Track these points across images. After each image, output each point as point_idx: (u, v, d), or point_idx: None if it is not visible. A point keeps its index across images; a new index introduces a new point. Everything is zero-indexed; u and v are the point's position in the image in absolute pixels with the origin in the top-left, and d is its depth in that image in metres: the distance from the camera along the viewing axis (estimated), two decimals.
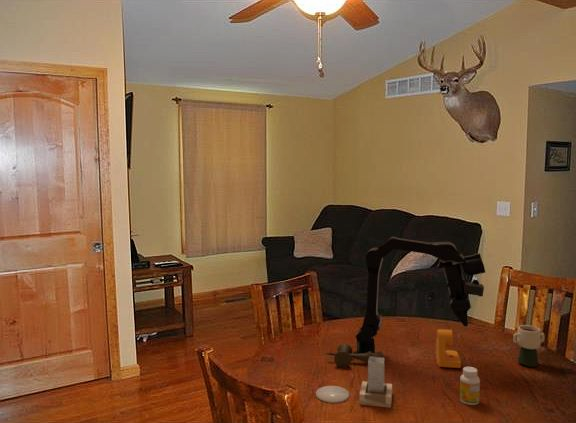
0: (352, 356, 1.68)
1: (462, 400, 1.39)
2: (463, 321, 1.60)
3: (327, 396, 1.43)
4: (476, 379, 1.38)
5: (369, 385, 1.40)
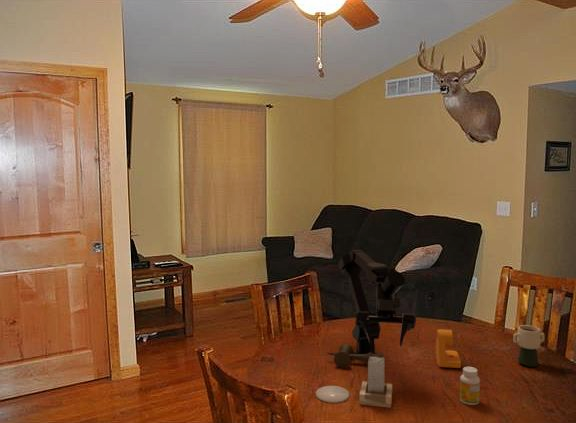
0: (352, 356, 1.68)
1: (462, 400, 1.39)
2: (368, 338, 1.51)
3: (327, 396, 1.43)
4: (476, 379, 1.38)
5: (369, 385, 1.40)
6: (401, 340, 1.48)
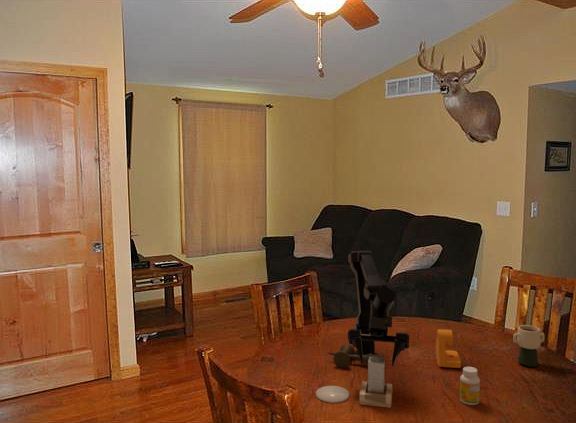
0: (352, 357, 1.68)
1: (462, 400, 1.39)
2: None
3: (327, 396, 1.43)
4: (476, 379, 1.38)
5: (369, 385, 1.40)
6: (393, 360, 1.43)
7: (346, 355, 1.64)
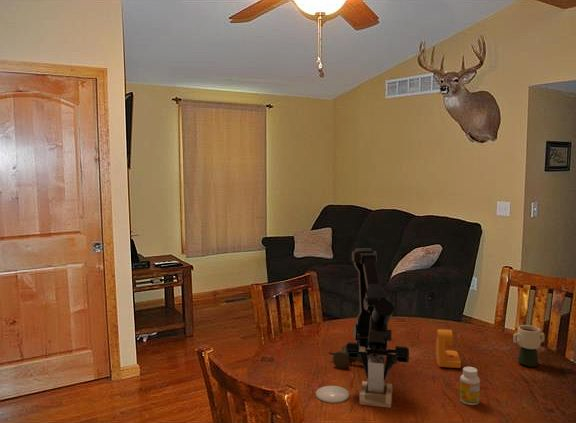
0: (352, 358, 1.67)
1: (462, 400, 1.39)
2: None
3: (327, 396, 1.43)
4: (476, 379, 1.38)
5: (369, 385, 1.40)
6: (385, 374, 1.40)
7: (345, 355, 1.64)
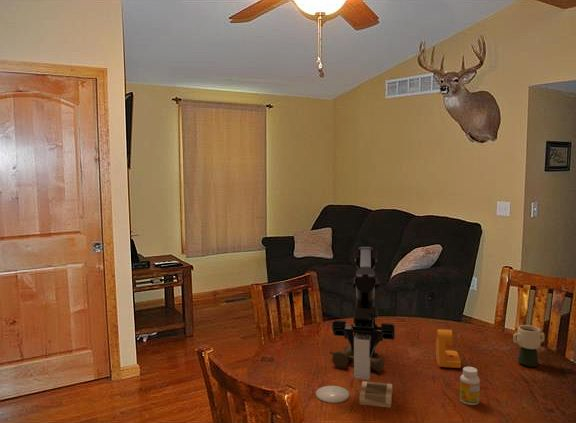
0: (352, 358, 1.66)
1: (462, 400, 1.39)
2: (351, 349, 1.43)
3: (327, 396, 1.43)
4: (476, 379, 1.38)
5: (355, 362, 1.41)
6: (370, 350, 1.41)
7: (344, 356, 1.64)
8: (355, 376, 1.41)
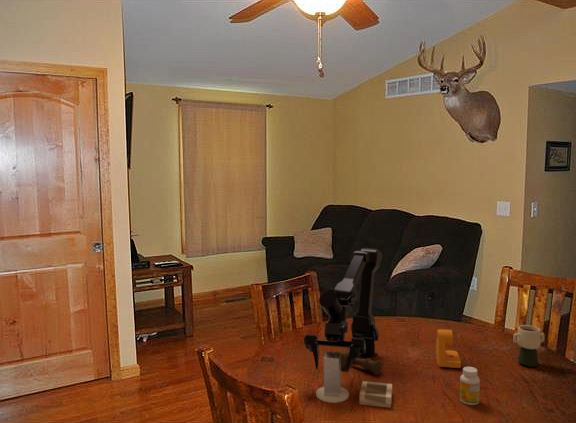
0: None
1: (462, 400, 1.39)
2: None
3: (327, 396, 1.43)
4: (476, 379, 1.38)
5: (325, 380, 1.43)
6: (347, 366, 1.42)
7: (342, 356, 1.63)
8: (325, 394, 1.43)
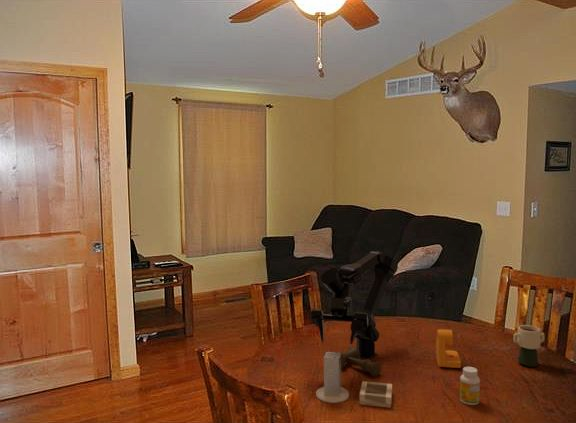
0: (351, 360, 1.65)
1: (462, 400, 1.39)
2: None
3: (327, 396, 1.43)
4: (476, 379, 1.38)
5: (325, 379, 1.43)
6: (351, 338, 1.51)
7: (341, 356, 1.63)
8: (325, 394, 1.43)
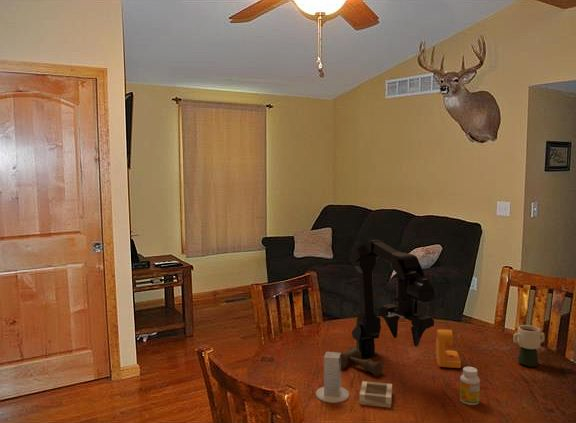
0: (353, 360, 1.65)
1: (462, 400, 1.39)
2: (417, 341, 1.48)
3: (327, 396, 1.43)
4: (476, 379, 1.38)
5: (325, 379, 1.43)
6: None
7: (343, 356, 1.63)
8: (325, 394, 1.43)
